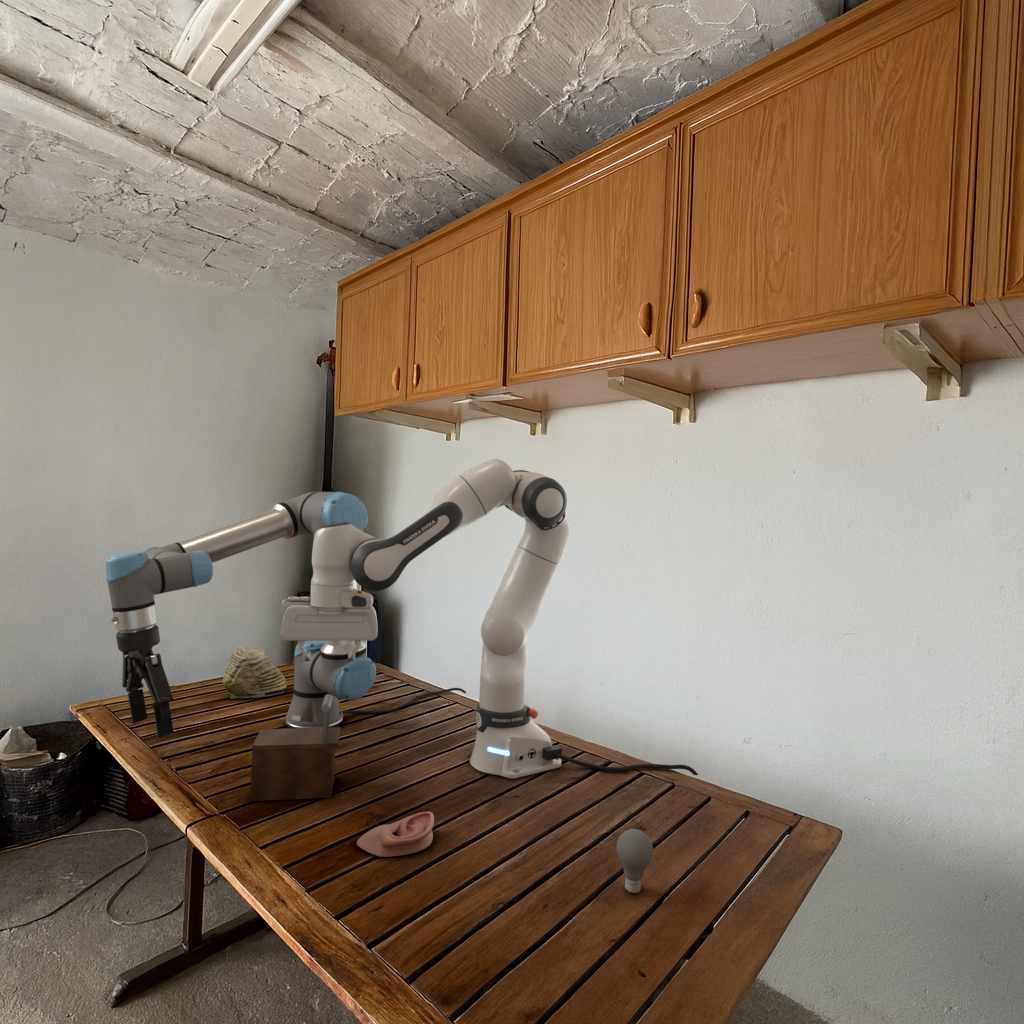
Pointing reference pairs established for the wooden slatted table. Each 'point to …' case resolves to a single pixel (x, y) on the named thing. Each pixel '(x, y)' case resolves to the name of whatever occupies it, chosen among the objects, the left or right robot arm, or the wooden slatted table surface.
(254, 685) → the fossil
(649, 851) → the light bulb
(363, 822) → the wooden slatted table surface
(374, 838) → the anatomical model
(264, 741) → the lid
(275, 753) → the chest
